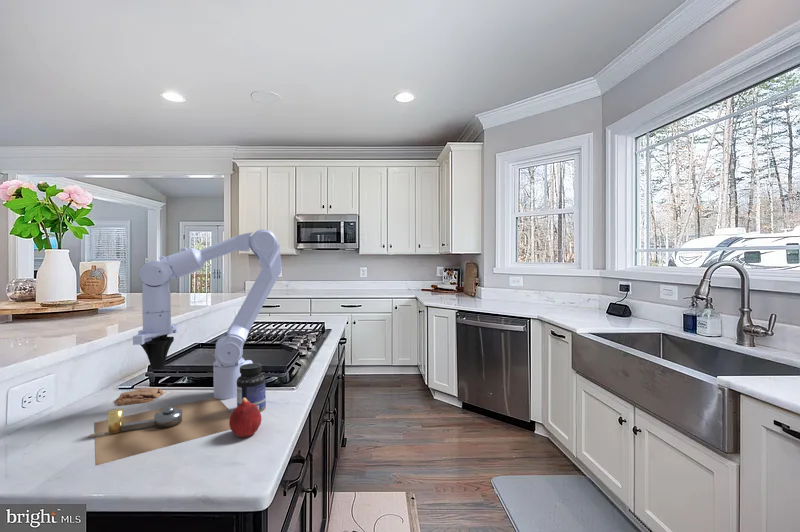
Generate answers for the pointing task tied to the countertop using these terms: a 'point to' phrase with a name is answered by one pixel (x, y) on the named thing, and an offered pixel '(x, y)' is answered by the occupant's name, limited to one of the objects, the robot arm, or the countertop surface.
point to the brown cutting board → (161, 430)
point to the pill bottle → (252, 385)
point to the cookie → (138, 396)
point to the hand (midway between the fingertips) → (157, 368)
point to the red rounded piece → (245, 419)
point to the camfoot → (160, 420)
